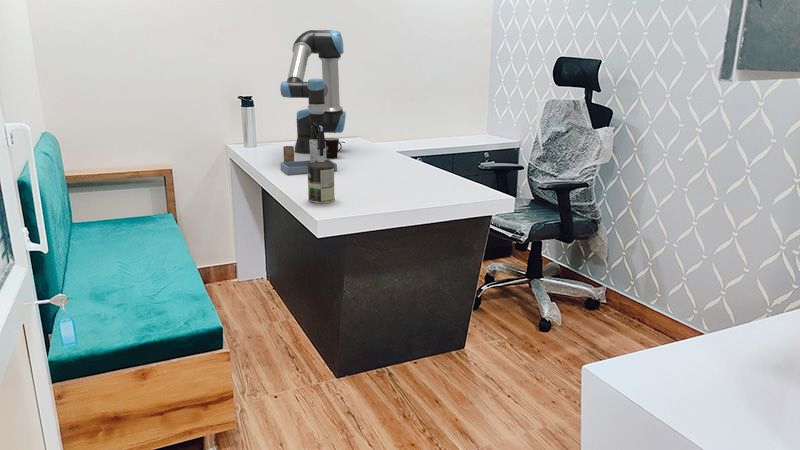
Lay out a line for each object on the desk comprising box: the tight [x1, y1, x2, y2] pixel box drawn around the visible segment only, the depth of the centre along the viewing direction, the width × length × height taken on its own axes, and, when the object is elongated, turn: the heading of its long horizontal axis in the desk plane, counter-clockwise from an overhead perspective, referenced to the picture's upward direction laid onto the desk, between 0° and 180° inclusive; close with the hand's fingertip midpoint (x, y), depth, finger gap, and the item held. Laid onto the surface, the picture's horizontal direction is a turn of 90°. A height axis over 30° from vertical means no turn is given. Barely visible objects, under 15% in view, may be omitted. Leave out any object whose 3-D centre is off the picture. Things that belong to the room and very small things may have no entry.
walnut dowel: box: [283, 145, 295, 162], centre depth 294 cm, size 5×5×9 cm
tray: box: [280, 159, 338, 176], centre depth 282 cm, size 14×24×4 cm, turn 114°
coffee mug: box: [325, 137, 343, 160], centre depth 312 cm, size 12×9×10 cm
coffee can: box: [307, 162, 335, 204], centre depth 229 cm, size 10×10×14 cm
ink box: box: [309, 139, 327, 163], centre depth 282 cm, size 9×5×12 cm, turn 33°
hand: (318, 160), depth 284 cm, fingers closed on ink box, 9 cm apart
